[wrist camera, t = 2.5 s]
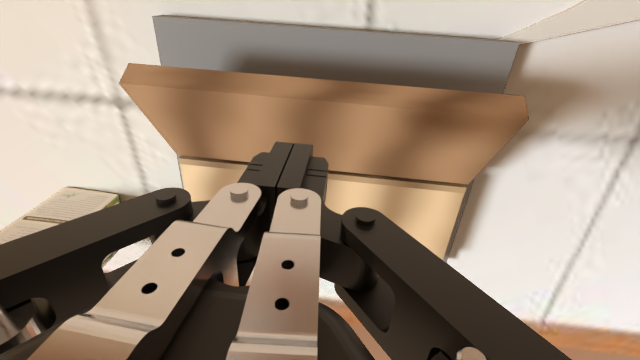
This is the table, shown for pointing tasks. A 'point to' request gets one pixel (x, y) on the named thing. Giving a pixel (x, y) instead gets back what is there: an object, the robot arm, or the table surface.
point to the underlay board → (338, 57)
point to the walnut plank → (327, 120)
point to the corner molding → (579, 20)
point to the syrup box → (59, 212)
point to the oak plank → (354, 196)
